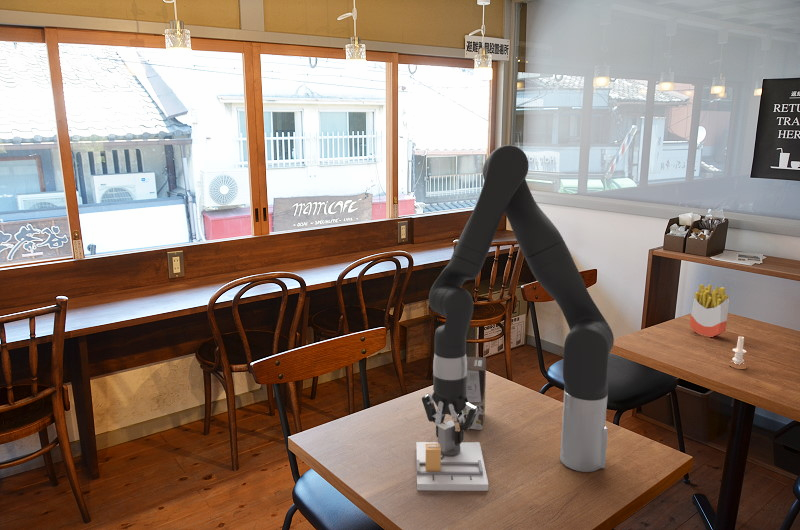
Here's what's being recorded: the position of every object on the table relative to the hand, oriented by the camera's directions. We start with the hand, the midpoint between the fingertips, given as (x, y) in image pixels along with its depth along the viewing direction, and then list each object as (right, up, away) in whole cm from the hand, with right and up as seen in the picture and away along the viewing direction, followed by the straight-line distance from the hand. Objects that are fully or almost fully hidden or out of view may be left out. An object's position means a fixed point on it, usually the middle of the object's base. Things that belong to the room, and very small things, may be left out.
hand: (449, 441), depth 138 cm
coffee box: (+7, 0, +18) cm, 19 cm away
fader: (-4, -4, -7) cm, 9 cm away
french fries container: (+100, +15, +79) cm, 128 cm away
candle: (+95, +8, +51) cm, 108 cm away
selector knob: (0, -3, +1) cm, 3 cm away
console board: (0, -5, -3) cm, 6 cm away
